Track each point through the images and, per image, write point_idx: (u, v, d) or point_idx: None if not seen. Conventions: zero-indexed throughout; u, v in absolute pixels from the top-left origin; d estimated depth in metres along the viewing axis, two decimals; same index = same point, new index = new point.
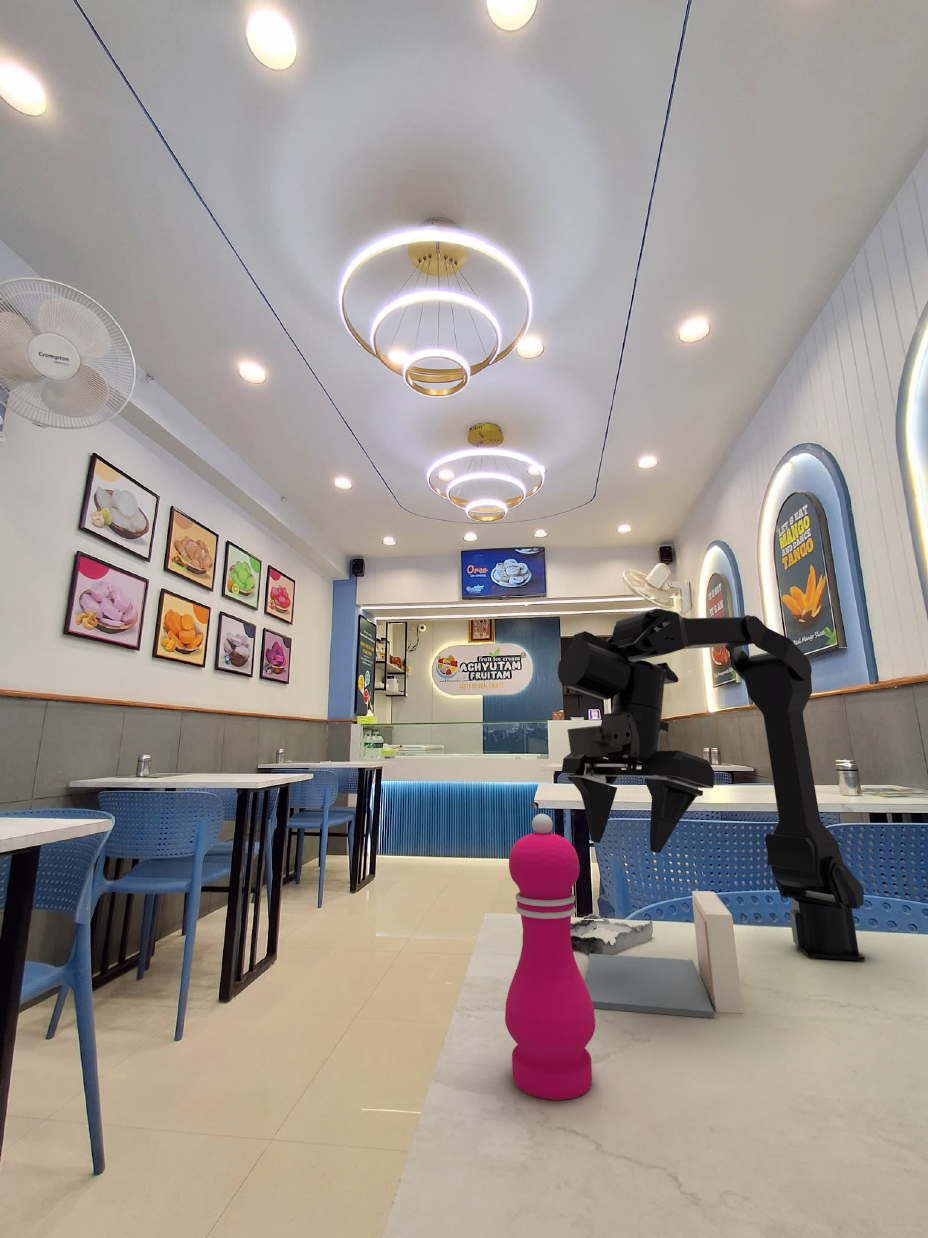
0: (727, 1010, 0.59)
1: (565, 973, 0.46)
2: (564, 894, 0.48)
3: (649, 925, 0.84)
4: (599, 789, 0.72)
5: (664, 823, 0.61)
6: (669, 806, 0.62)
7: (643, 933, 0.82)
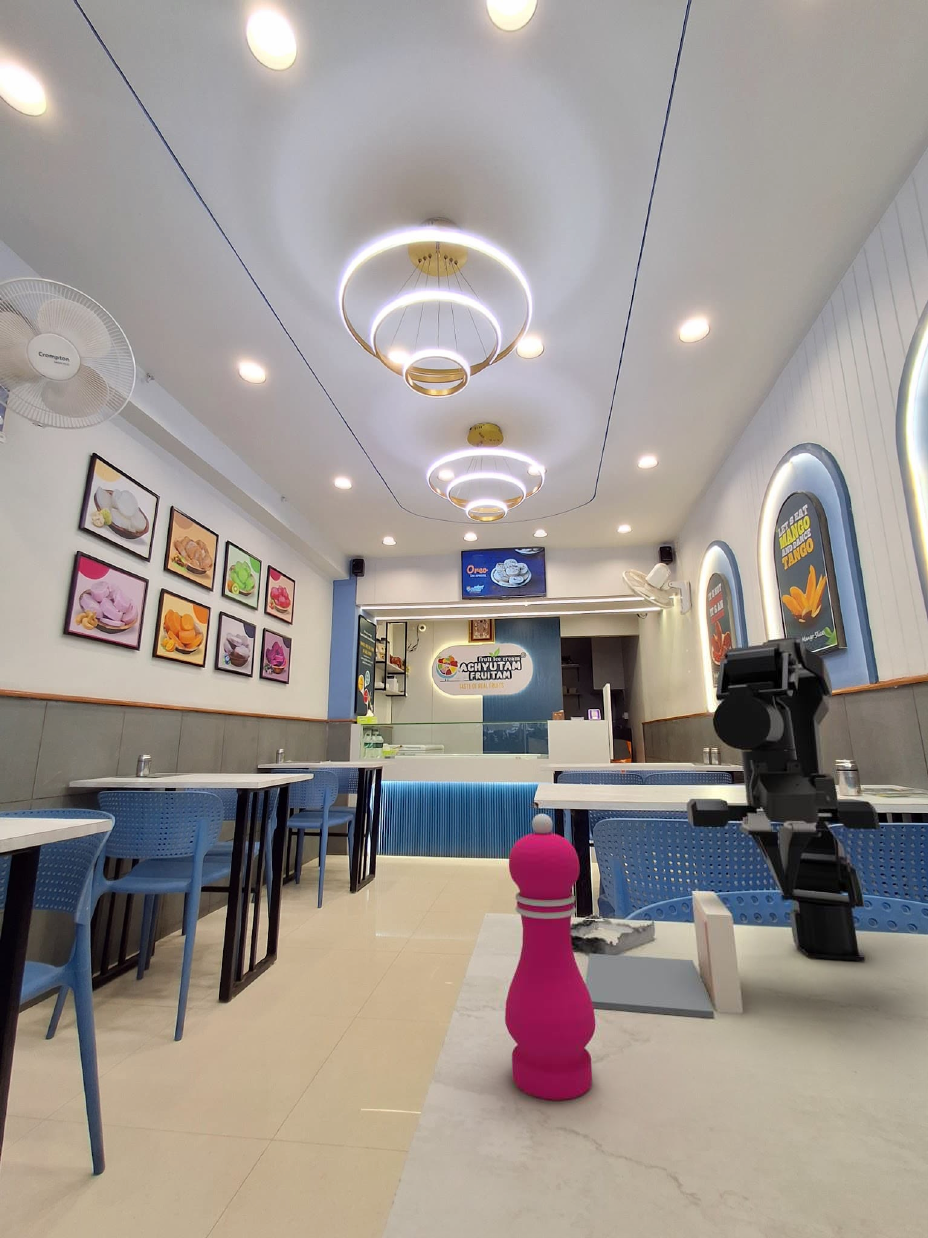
0: (727, 1010, 0.59)
1: (565, 973, 0.46)
2: (564, 894, 0.48)
3: (651, 925, 0.83)
4: None
5: None
6: None
7: (645, 934, 0.82)
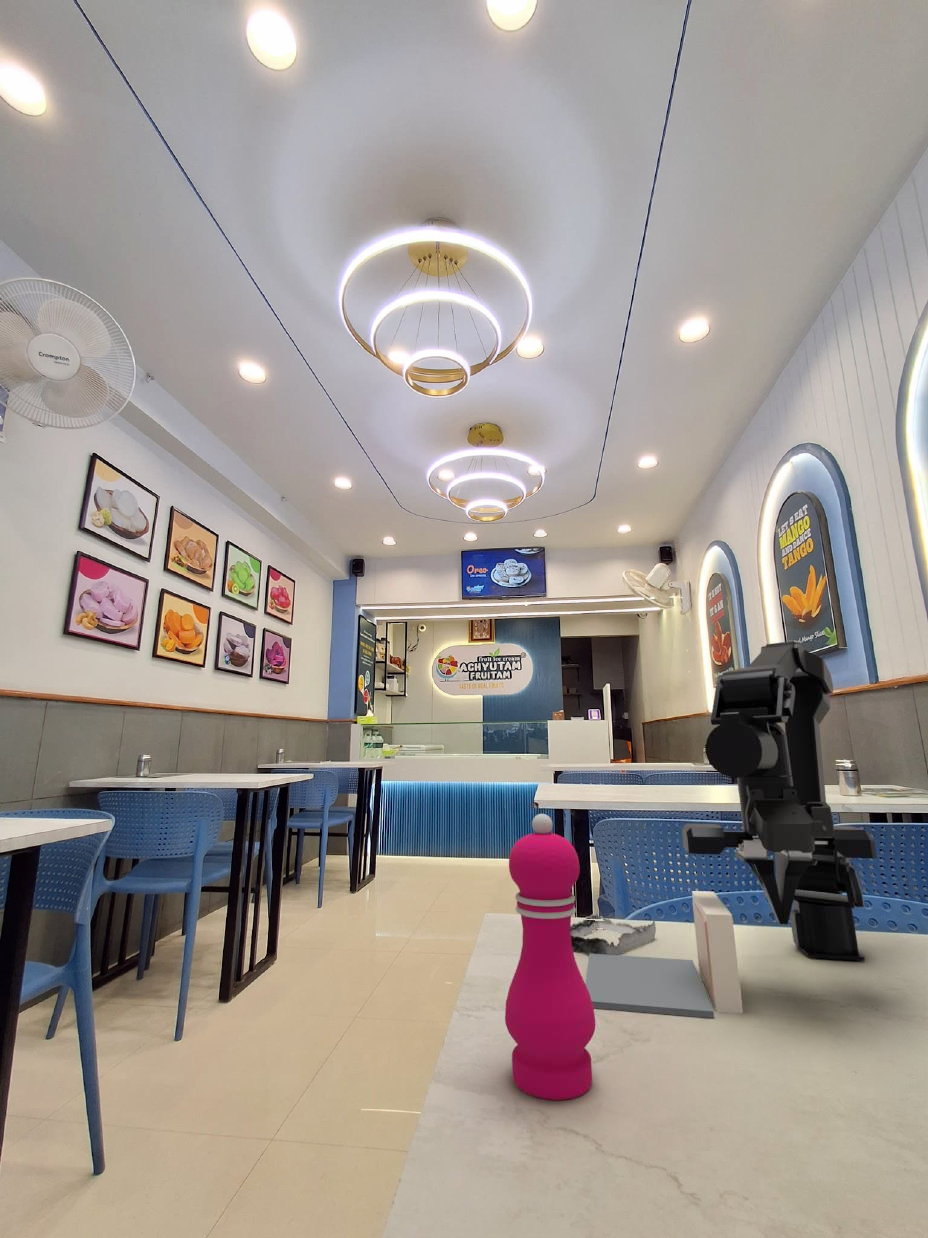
0: (727, 1010, 0.59)
1: (565, 973, 0.46)
2: (564, 894, 0.48)
3: (652, 925, 0.83)
4: None
5: None
6: None
7: (646, 934, 0.82)
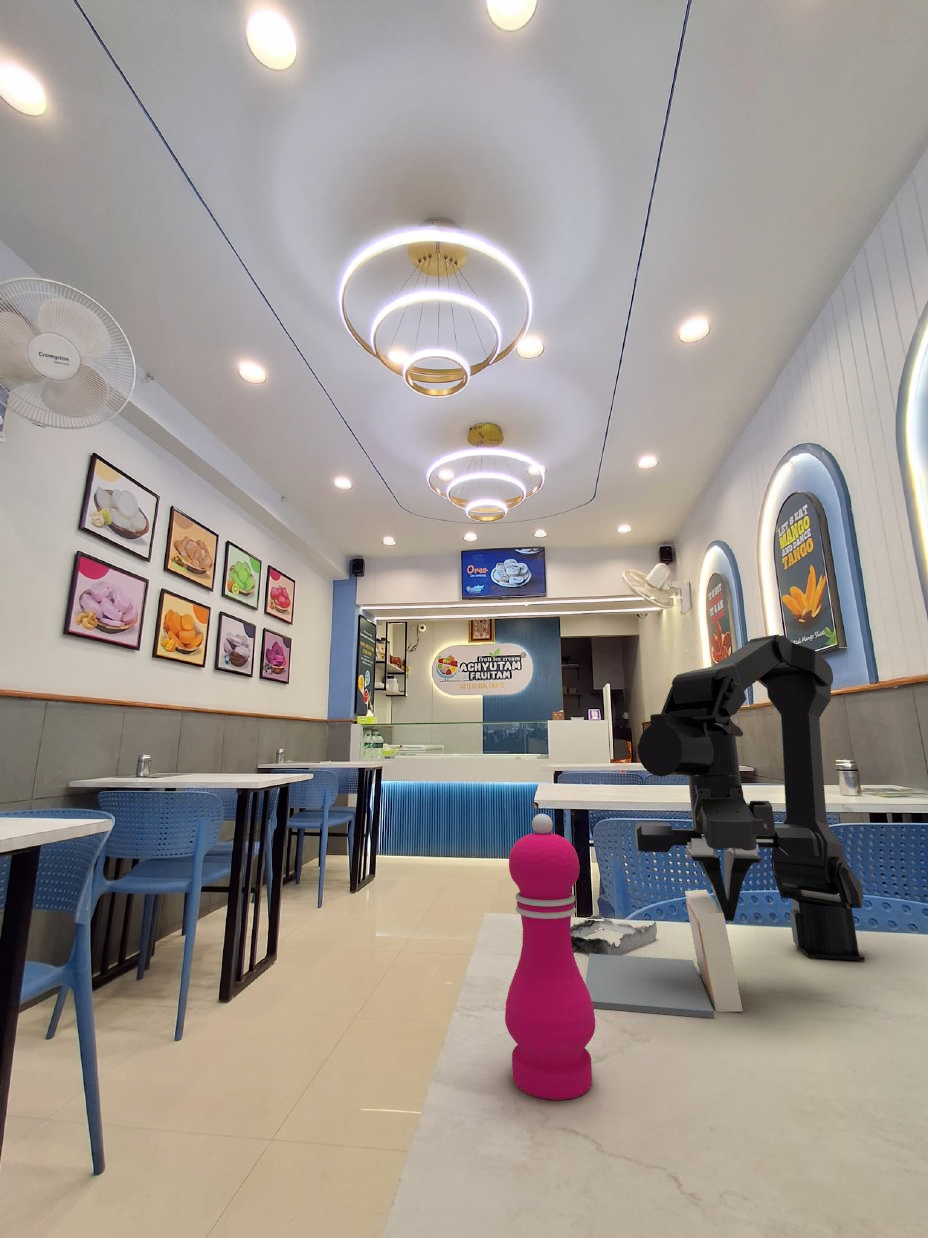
0: (727, 1009, 0.59)
1: (565, 973, 0.46)
2: (564, 894, 0.48)
3: (653, 926, 0.83)
4: None
5: None
6: None
7: (647, 934, 0.82)
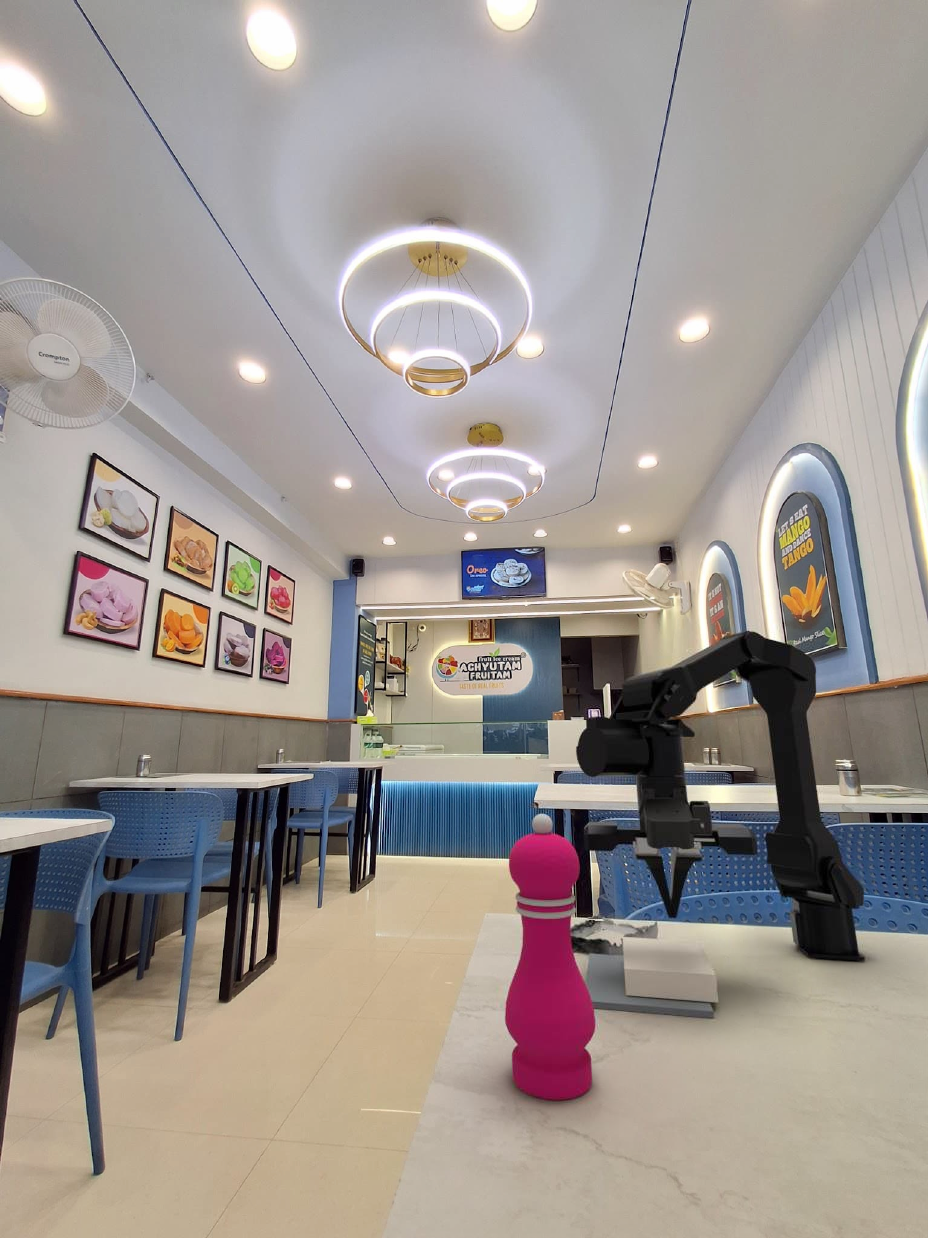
0: (714, 990, 0.59)
1: (565, 973, 0.46)
2: (564, 894, 0.48)
3: (654, 926, 0.83)
4: None
5: None
6: None
7: (648, 934, 0.82)
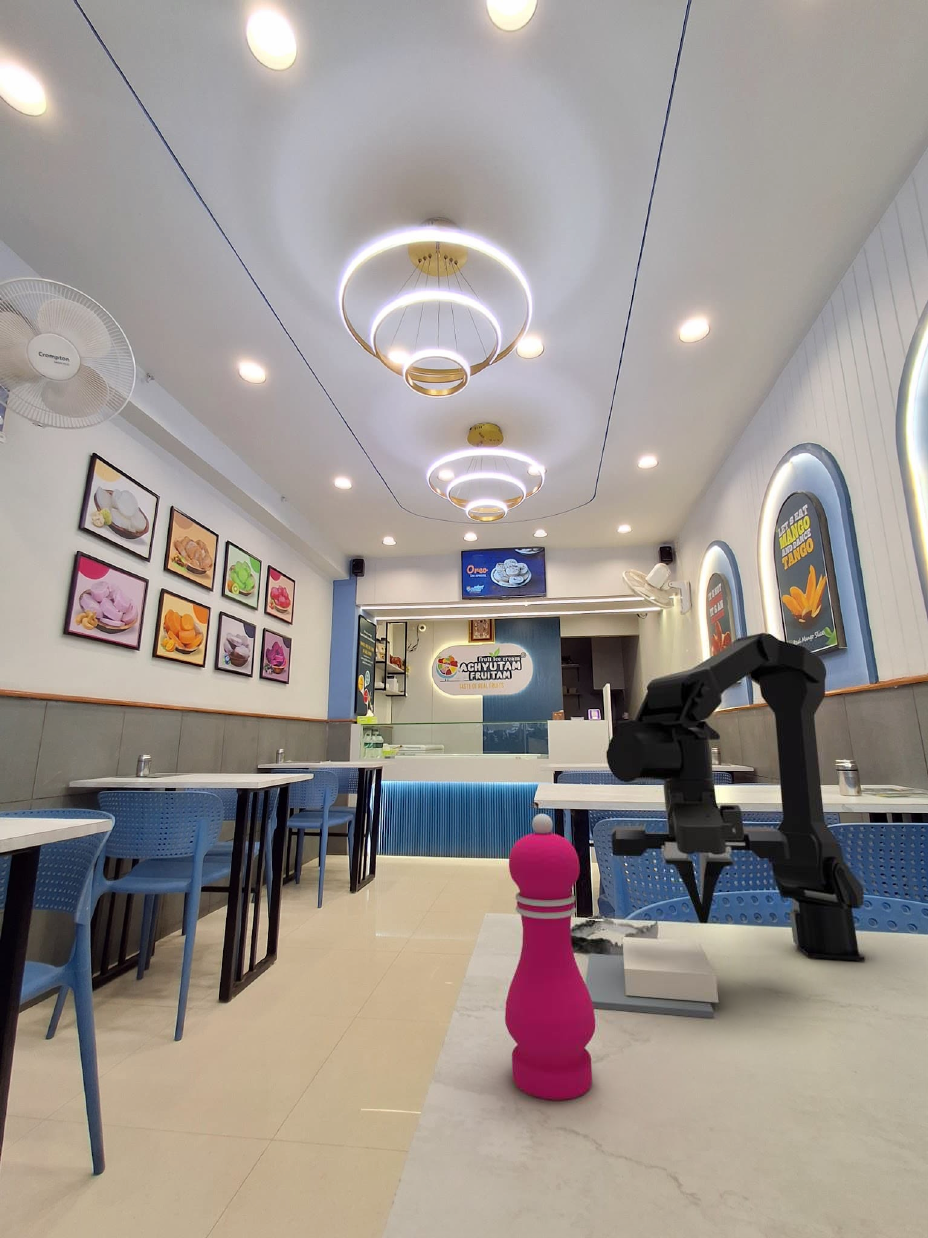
0: (714, 990, 0.59)
1: (565, 973, 0.46)
2: (564, 894, 0.48)
3: (655, 925, 0.83)
4: None
5: None
6: None
7: (649, 934, 0.82)
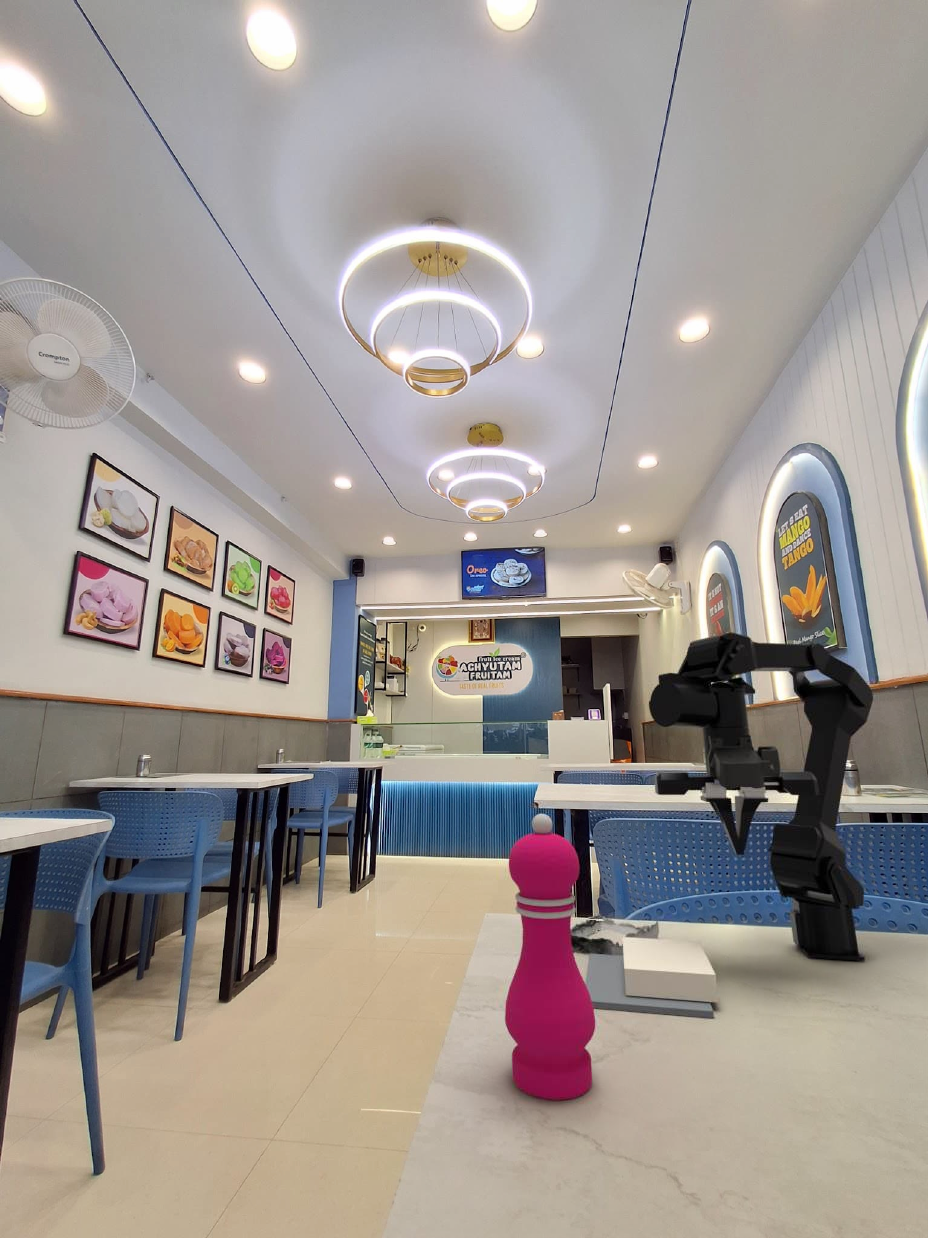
0: (714, 990, 0.59)
1: (565, 973, 0.46)
2: (564, 894, 0.48)
3: (655, 925, 0.83)
4: None
5: None
6: None
7: (650, 934, 0.82)
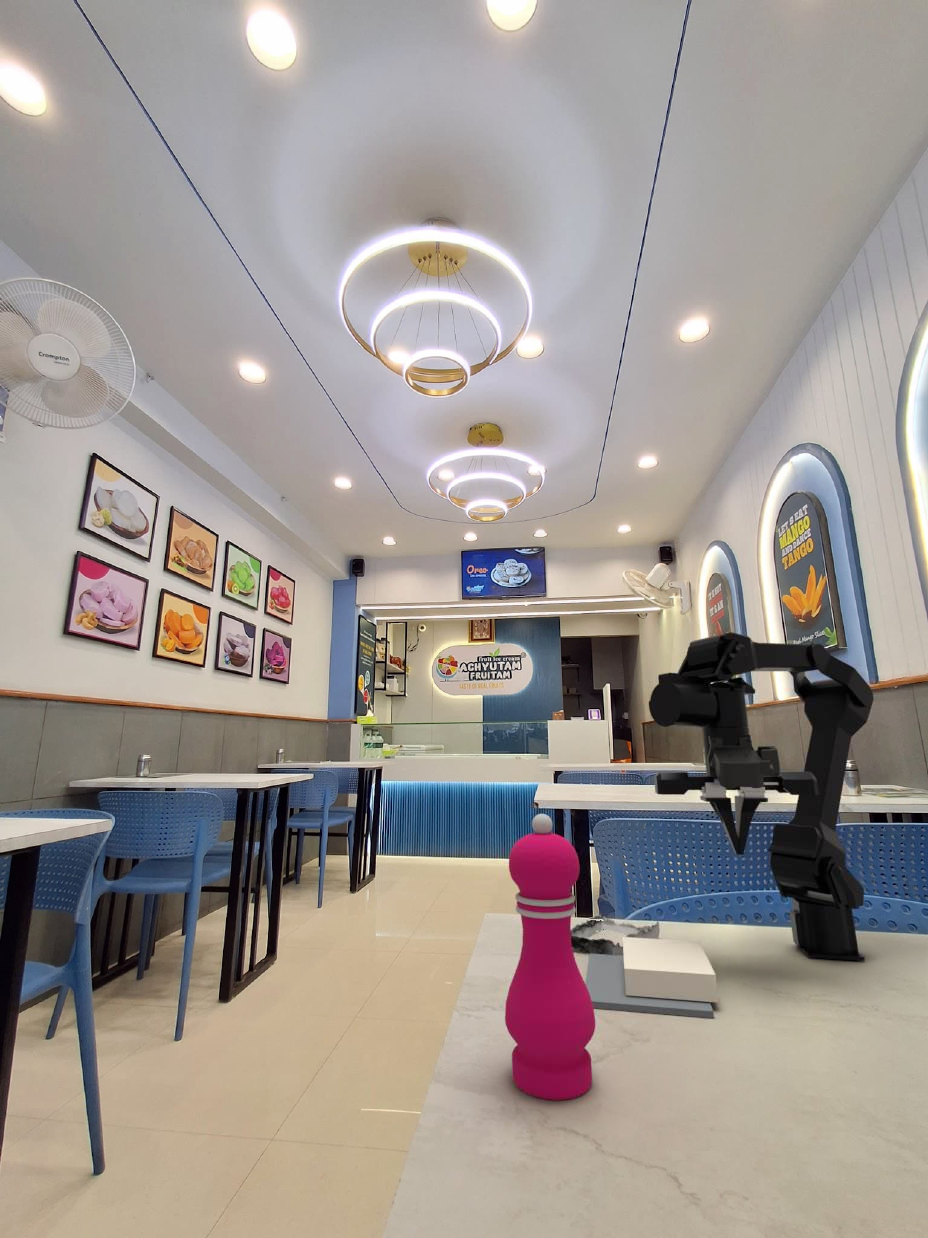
0: (714, 990, 0.59)
1: (565, 973, 0.46)
2: (564, 894, 0.48)
3: (656, 926, 0.83)
4: None
5: None
6: None
7: (650, 934, 0.82)
